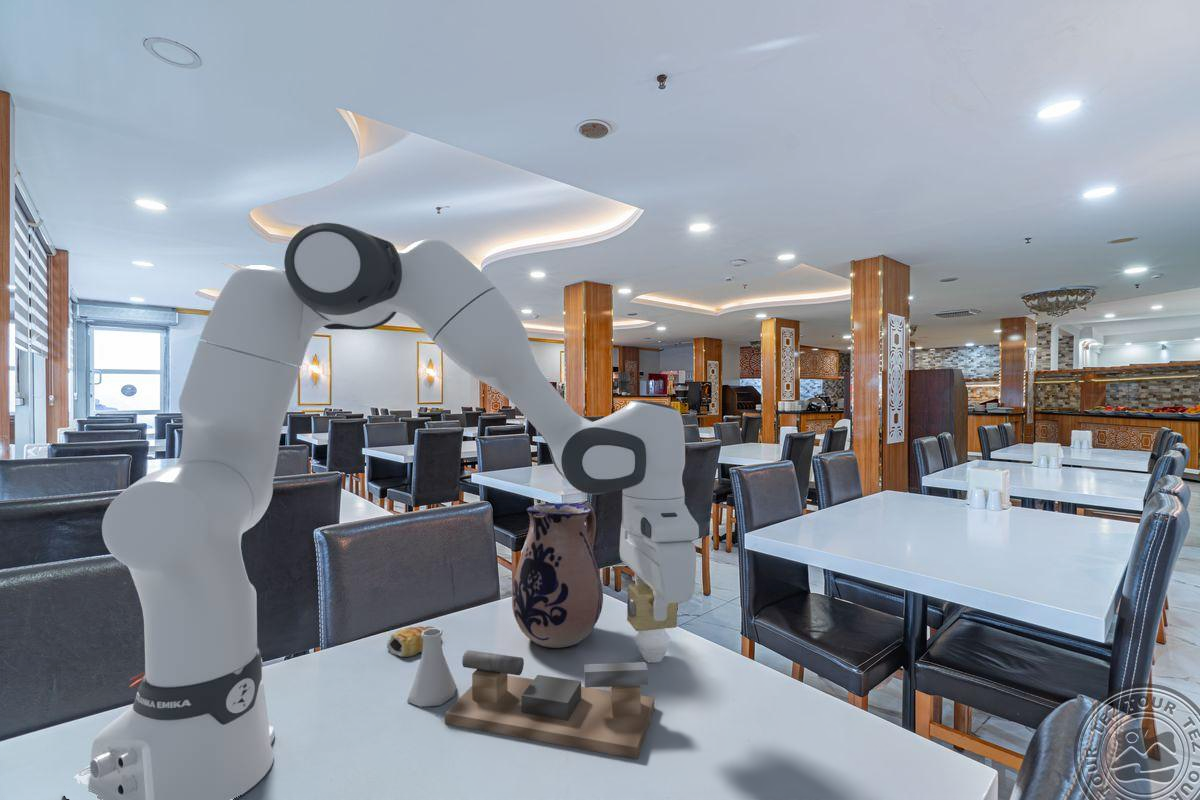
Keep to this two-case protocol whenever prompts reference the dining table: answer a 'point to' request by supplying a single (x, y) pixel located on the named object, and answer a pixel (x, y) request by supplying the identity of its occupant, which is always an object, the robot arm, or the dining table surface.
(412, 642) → the pastry
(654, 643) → the white rounded piece
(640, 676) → the shaft stand
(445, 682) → the flask
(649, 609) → the tan rectangular block
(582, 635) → the ceramic pitcher
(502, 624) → the dining table surface
